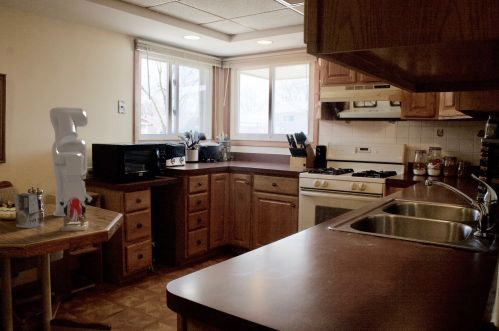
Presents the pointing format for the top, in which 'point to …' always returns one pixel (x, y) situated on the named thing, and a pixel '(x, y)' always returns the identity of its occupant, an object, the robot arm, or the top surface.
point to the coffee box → (27, 210)
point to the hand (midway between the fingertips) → (74, 214)
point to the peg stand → (75, 224)
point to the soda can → (74, 210)
